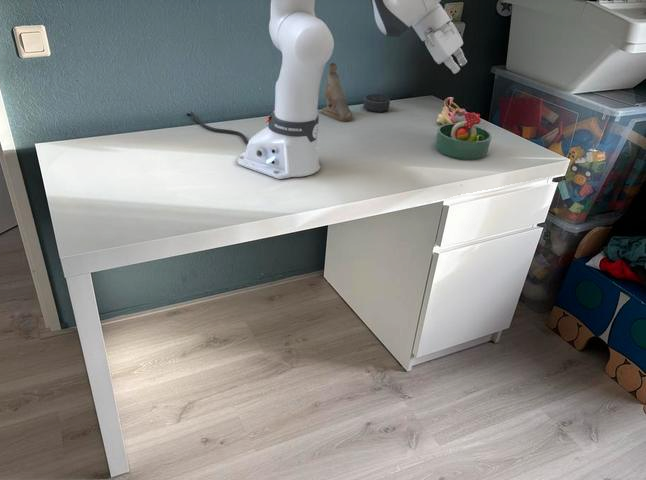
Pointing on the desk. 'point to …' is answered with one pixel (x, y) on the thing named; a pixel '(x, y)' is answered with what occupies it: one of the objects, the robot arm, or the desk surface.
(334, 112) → the worn brown figurine
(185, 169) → the desk surface
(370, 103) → the smart speaker
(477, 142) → the bowl
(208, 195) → the desk surface
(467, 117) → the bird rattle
